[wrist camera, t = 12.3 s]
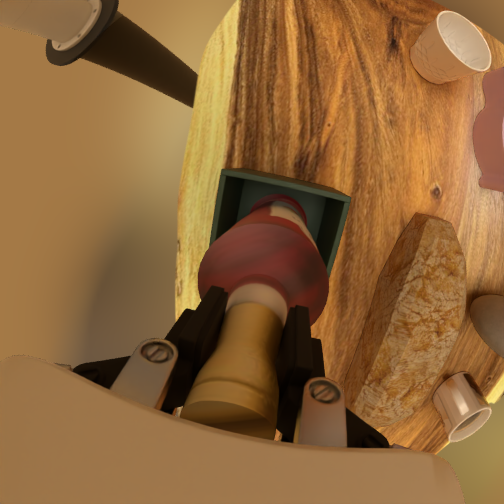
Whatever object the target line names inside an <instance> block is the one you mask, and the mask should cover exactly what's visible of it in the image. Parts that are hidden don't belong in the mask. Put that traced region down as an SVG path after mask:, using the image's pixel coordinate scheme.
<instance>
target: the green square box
mask: <svg viewBox="0 0 504 504" xmlns="http://www.w3.org/2000/svg"><path fill="white" fill-rule="evenodd" d="M271 194H283V195H287V196H289V197H291V198H293V199H295V200H296V201H297V202H298V203H299V204H300V205H301V206H302V208H303V210H304V212H305V214H306V218H307V229H308V231H309V232H310V234H311V236H312V238H313V240H314V242H315V244H316V247H317V249H318V251H319V254H320V256H321V258H322V260H323V262H324V264H325V266H326V270H327V274H328V279H329V277H330V273H331V270H332V267H333V264H334V260H335V257H336V254H337V250H338V247H339V243H340V240H341V236H342V232H343V229H344V225H345V221H346V217H347V214H348V210H349V206H350V202H351V197H349V196H347V195H345V194H344V193H342V192H340V191H338V190H336V189H334V188H331V187H327V186H323V185H319V184H315V183H311V182H307V181H303V180H298V179H294V178H289V177H285V176H280V175H276V174H271V173H266V172H261V171H256V170H251V169H245V168H232V169H222V170H221V175H220V181H219V187H218V193H217V199H216V205H215V211H214V217H213V224H212V230H211V237H210V244H209V247H210V246H211V245H212V244H213V242H215V241H216V240H217V239H218V238H219V237H221V236H222V235H223V234H224V233H226V232H227V231H228V230H229V229H230V228H232V227H233V226H234V225H235V224H236V223H238V222H239V221H240V220H241V219H243V218H244V217H246V216H247V215H249V213H250V210H251V209H252V207H253V206H254V204H255V203H256V202H257V201H258V200H260V199H261V198H263V197H265V196H267V195H271Z"/></svg>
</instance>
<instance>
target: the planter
mask: <svg viewBox="0 0 504 504" xmlns="http://www.w3.org/2000/svg"><path fill="white" fill-rule="evenodd" d="M470 316H471V320H472V323H473V325H474V327H475V329H476V331H477V332H478V334H479V335H480V337H481V338H482V339H483V340H484V342H485V343H486V344H487V345H488V346H489V347H490V348H491V349H492V350H494V351H495V352H496V353H497V354H498V355H500V356H501V357H502V358H504V296H500V295H484V296H480V297H478V298H476V299H475V300H474V301H473V302H472V304H471V307H470Z"/></svg>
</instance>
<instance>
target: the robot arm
mask: <svg viewBox="0 0 504 504" xmlns="http://www.w3.org/2000/svg"><path fill="white" fill-rule="evenodd" d="M101 9H102V3H101V1H100V0H0V26H4V27H8V28H12V29H16V30H20V31H24V32H28V33H31V34H34V35H38V36H41V37H44V38H47V39H50V40H52V46H53V48H54V49H56V50H58V51H66V50H68V49H71V48H72V47H74V46H75V45H77V44H78V43H79V42H80V41H81V40H82V39H83V38H84V37H85V36H86V35H87V34H88V33H89V32H90V30H91V29H92V28H93V26H94V25H95V23H96V22H97V20H98V18H99V15H100V13H101ZM227 299H228V292H224V288H222V287H218V286H214V285H212V286H211V287H210V288H209V290H208V291H207V293H206V295H205V296H204V298H203V299H202V301H201V302H200V304H199V305H198V307H197V308H196V310H191V309H188V308H187V309H185V310H184V312H183V313H182V315H181V316H180V317H179V319H178V320H177V322H176V323H175V324H174V326H173V327H172V329H171V330H170V332H169V333H168V334H167V336H166V337H165V339H159V338H151V339H147V340H145V341H143V342H141V343H140V344H139V345H138V346H137V348H136V349H135V351H134V353H133V354H132V355H131V356H127V357H121V358H115V359H109V360H104V361H97V362H90V363H84V364H81V365H78V366H77V367H75V368H74V369H71V366H70V365H65V364H58V363H52V362H49V361H46V360H43V359H40V358H35V357H30V356H25V355H15V356H11V357H8V358H6V359H4V360H2V361H1V362H0V504H465V500H464V496H463V493H462V489H461V486H460V484H459V481H458V479H457V476H456V474H455V472H454V470H453V468H452V467H451V465H450V464H449V463H448V462H447V461H446V460H445V459H443V458H441V457H439V456H437V455H434V454H431V453H427V452H423V451H417V450H412V449H409V448H406V447H403V446H400V445H397V444H395V443H394V444H393V445H392V446H391V445H389V442H388V441H387V439H386V438H385V437H384V436H383V435H382V434H381V433H379V432H378V431H377V430H375V429H374V428H373V427H371V426H370V425H369V424H367V423H366V422H365V421H363V420H362V419H361V418H359V417H358V416H357V415H356V414H354V413H353V412H352V411H350V410H349V409H348V408H347V407H345V395H344V391H343V389H342V387H341V386H340V385H339V384H338V383H337V382H335V381H333V380H331V379H329V378H325V370H324V361H323V352H322V344H321V340H320V339H316V338H311V329H310V317H309V308H308V307H305V306H300V305H295V308H294V307H290V309H289V312H288V316H287V319H286V322H285V326H284V329H283V333H282V338H281V342H280V346H279V350H278V354H277V358H276V361H275V369H276V374H277V380H278V386H279V403H278V413H277V423H276V429H277V430H278V431H279V432H280V436H279V440H278V441H274V440H268V439H262V438H257V437H252V436H247V435H242V434H237V433H233V432H229V431H225V430H221V429H217V428H213V427H209V426H206V425H202V424H199V423H195V422H192V421H189V420H186V419H182V418H179V417H176V416H175V414H176V411H177V407H181V406H184V404H185V401H186V399H187V397H188V395H189V392H190V390H191V388H192V386H193V383H194V381H195V379H196V377H197V374H198V373H199V371H200V370H201V368H202V367H203V366H204V364H205V363H206V361H207V360H208V359H209V357H210V356H211V355H212V353H213V352H214V351H215V349H216V345H217V341H218V337H219V333H220V329H221V326H222V322H223V318H224V315H225V311H226V305H227Z"/></svg>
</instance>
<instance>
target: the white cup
mask: <svg viewBox="0 0 504 504" xmlns="http://www.w3.org/2000/svg"><path fill="white" fill-rule="evenodd" d="M410 59H411V62H412V64H413V66H414V68H415V69H416V70H417V72H418V73H419V74H420V75H421V76H422V77H423V78H425V79H426V80H428V81H429V82H431V83H435V84H443V83H446V82H448V81H454V80H458V79H461V78H465V77H468V76H470V75H473V74H477V73H480V72H483V71H486V70H488V69H489V67H490V65H491V53H490V50H489V47H488V45H487V42H486V41H485V39H484V37H483V36H482V34H481V33H480V32H479V30H478V29H477V28H476V27H475V26H474V25H473V24H472V23H471V22H470V21H469V20H467V19H466V18H465V17H463V16H461V15H460V14H458V13H455V12H452V11H443V12H441V13H439V14H438V15H437V17H436V18H435V19H434V20H433V21H432V22H431V23H430V24H429V25H428V27H427V28H426V29H425V30H424V31H423V32H422V34H421V35H420V36H419V37H418V39H417V41H416V42H415V43H414V45H413V46H412V47H411V48H410Z"/></svg>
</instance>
